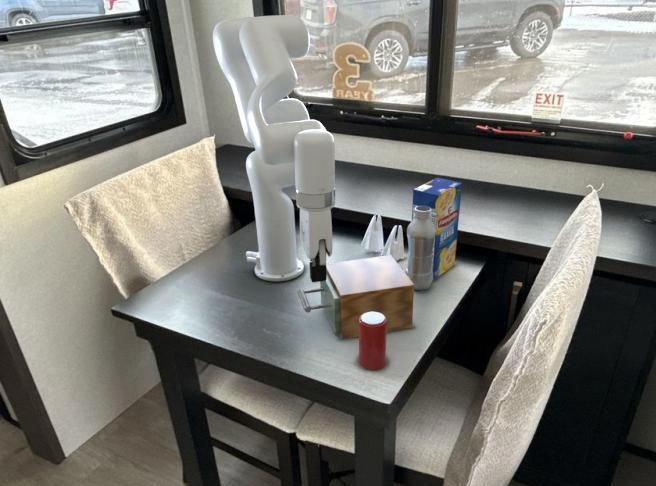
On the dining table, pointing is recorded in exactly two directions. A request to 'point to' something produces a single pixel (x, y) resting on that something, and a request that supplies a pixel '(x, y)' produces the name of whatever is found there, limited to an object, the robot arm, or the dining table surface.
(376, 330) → the can
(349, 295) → the cabinet
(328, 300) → the drawer
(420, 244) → the silver bottle
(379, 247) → the shaker set
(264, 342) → the dining table surface
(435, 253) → the blue tall box
